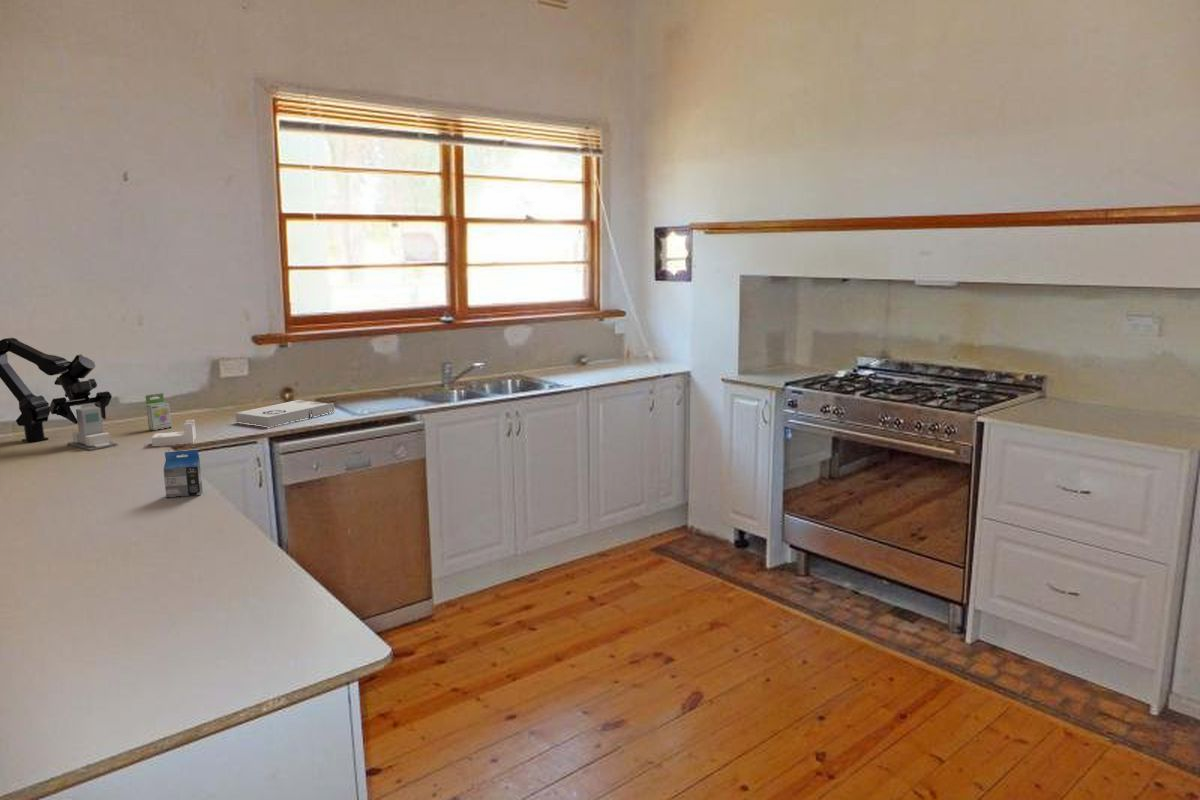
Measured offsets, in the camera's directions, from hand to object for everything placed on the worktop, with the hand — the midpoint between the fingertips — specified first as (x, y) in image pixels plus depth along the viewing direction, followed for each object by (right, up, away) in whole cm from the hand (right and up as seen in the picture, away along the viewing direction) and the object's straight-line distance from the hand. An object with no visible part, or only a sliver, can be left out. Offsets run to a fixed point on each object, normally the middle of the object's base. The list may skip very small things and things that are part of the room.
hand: (91, 420), depth 292 cm
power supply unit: (+51, -1, +46) cm, 69 cm away
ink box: (+10, -4, +27) cm, 29 cm away
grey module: (-1, -7, +2) cm, 8 cm away
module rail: (-1, -9, +2) cm, 9 cm away
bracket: (+27, -8, +4) cm, 29 cm away
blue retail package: (+62, -19, -59) cm, 87 cm away
